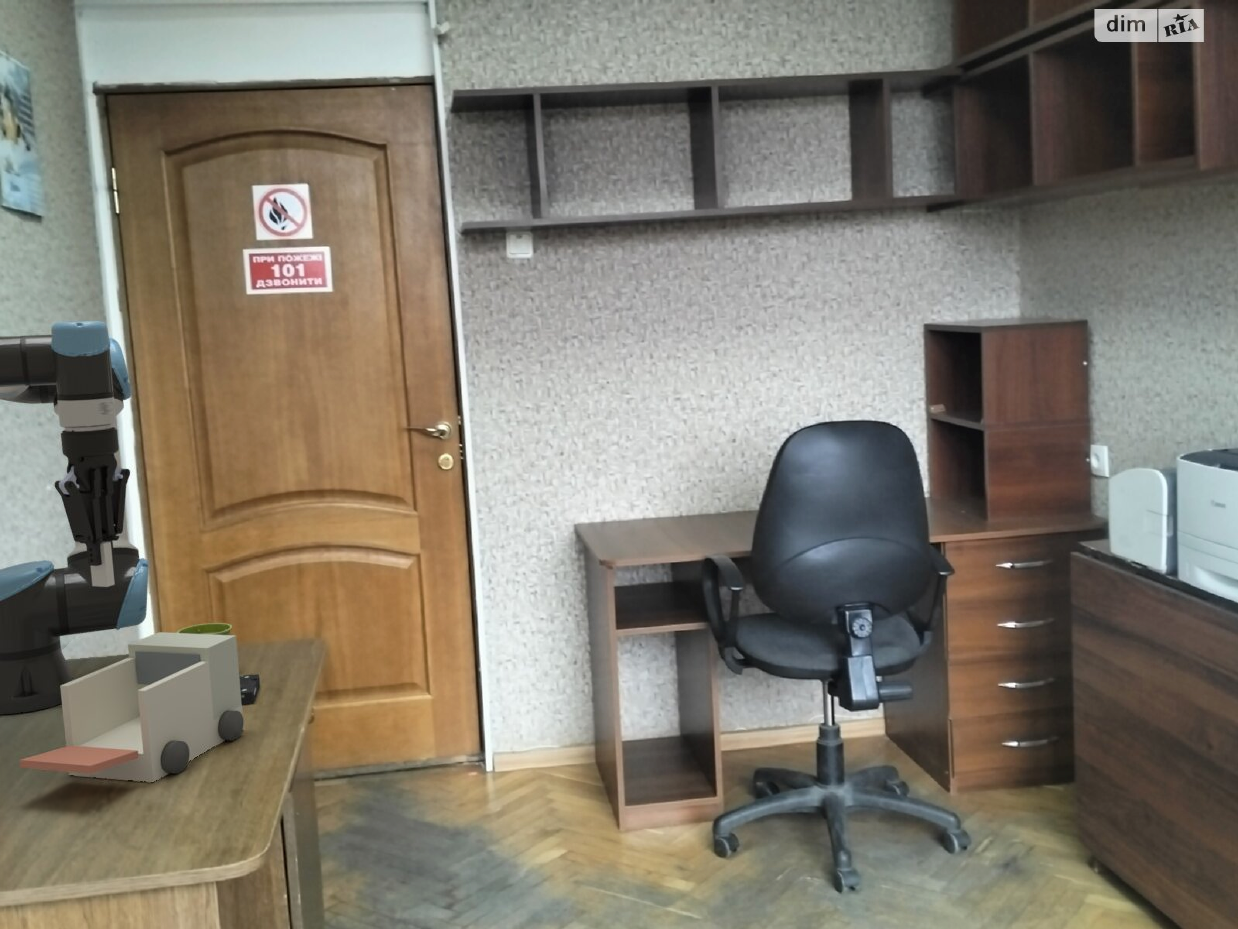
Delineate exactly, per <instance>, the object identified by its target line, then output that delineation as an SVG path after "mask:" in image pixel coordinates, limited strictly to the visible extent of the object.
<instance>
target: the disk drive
mask: <svg viewBox="0 0 1238 929" xmlns="http://www.w3.org/2000/svg"><path fill="white" fill-rule="evenodd" d="M239 679H240V691H241V704H242V706H247V705H254V704H255V702H256V699H255V698H257V696H258V693H259V691H260V688H261V682H260V674H259V673H257V674H246V675H239Z"/></svg>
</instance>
